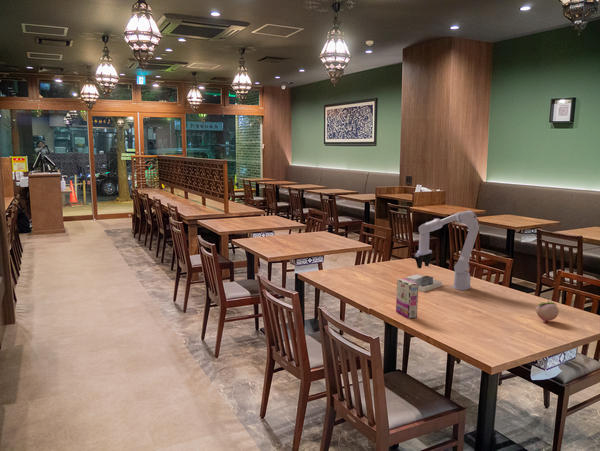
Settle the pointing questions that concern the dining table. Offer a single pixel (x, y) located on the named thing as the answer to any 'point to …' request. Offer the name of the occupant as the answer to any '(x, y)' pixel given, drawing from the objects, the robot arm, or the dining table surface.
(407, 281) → the candy bar box
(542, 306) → the decorative fruit
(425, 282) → the metal block
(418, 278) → the plain white rectangular box
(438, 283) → the tote
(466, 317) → the dining table surface
